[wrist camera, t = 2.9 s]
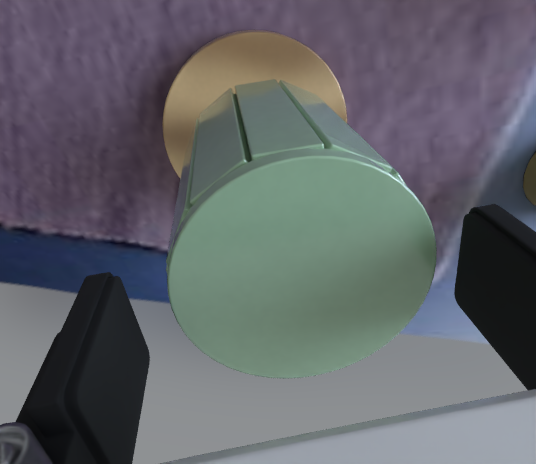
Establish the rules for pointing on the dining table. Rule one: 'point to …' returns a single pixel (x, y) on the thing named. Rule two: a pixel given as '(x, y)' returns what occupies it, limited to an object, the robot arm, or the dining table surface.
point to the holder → (241, 79)
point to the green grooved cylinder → (292, 237)
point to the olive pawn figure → (530, 180)
